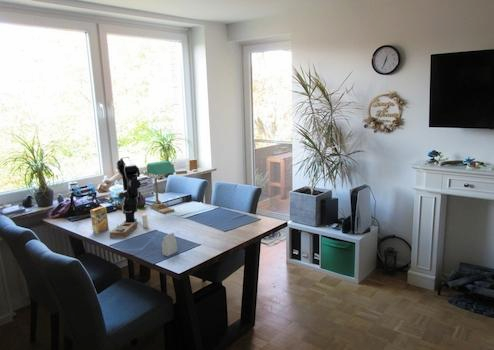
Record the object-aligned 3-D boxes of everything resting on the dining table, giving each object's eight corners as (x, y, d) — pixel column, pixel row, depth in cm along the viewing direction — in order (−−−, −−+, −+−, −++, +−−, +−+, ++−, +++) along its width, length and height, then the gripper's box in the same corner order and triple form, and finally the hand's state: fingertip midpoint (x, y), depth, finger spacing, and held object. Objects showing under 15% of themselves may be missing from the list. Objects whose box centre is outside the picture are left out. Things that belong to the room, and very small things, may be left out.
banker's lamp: (165, 205, 292) (161, 159, 285) (179, 210, 276) (176, 162, 270) (146, 209, 283) (141, 162, 276) (159, 215, 267) (155, 165, 260)
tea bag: (177, 251, 202) (175, 233, 200) (167, 256, 197) (166, 237, 195) (172, 250, 204) (170, 232, 202) (162, 254, 199) (161, 236, 197)
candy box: (97, 235, 232) (94, 210, 229) (92, 234, 235) (89, 209, 232) (109, 230, 240) (106, 206, 237) (104, 229, 242) (101, 205, 239)
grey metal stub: (119, 233, 230) (118, 224, 228) (124, 233, 229) (123, 224, 228) (117, 235, 227) (116, 225, 226) (122, 235, 226) (121, 225, 225)
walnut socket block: (123, 228, 242) (122, 222, 241) (137, 228, 241) (136, 222, 240) (110, 239, 224) (109, 232, 224) (125, 239, 223) (124, 232, 223)
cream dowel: (144, 227, 242) (142, 214, 240) (148, 227, 242) (147, 214, 240) (142, 229, 239) (141, 215, 237) (147, 229, 239) (145, 215, 237)
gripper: (121, 183, 240) (124, 207, 243) (115, 190, 222) (118, 216, 225) (140, 182, 241) (142, 206, 244) (135, 189, 223) (138, 215, 226)
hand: (135, 211), depth 235 cm, fingers open, 9 cm apart
